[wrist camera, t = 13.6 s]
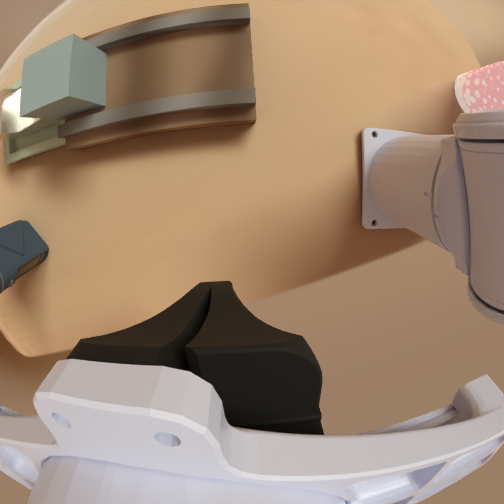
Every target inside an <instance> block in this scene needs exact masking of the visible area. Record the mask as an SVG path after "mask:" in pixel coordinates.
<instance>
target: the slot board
mask: <svg viewBox="0 0 504 504" xmlns="http://www.w3.org/2000/svg"><path fill="white" fill-rule="evenodd" d="M82 39H83V40H85V41H86V42H88V43H90V44H91V45H93V46H95V47H96V48H98V49H99V50H101V51H103V52H104V53H106V54H107V64H106V106H104V107H101V108H97V109H94V110H90V111H87V112H84V113H81V114H78V115H75V116H72V117H69V118H66V119H65V123H63V124H60V125H58V138H65V143H66V150H81V149H85V148H88V147H92V146H97V145H101V144H105V143H109V142H114V141H119V140H123V139H128V138H134V137H139V136H144V135H150V134H156V133H162V132H169V131H176V130H183V129H191V128H200V127H210V126H221V125H233V124H249V123H255V122H256V107H255V105H256V97H255V88H254V76H253V61H252V46H251V32H250V10H249V5H248V3H245V4H228V5H217V6H208V7H200V8H193V9H187V10H181V11H175V12H170V13H165V14H160V15H156V16H151V17H147V18H143V19H139V20H136V21H132V22H129V23H125V24H122V25H119V26H115V27H112V28H109V29H106V30H103V31H101V32H98V33H95V34H92V35H90V36H87V37H85V38H82Z"/></svg>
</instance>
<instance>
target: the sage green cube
mask: <svg viewBox="0 0 504 504" xmlns="http://www.w3.org/2000/svg"><path fill="white" fill-rule="evenodd" d="M106 64H107V54H106V53H104V52H103V51H101V50H99V49H98V48H96V47H95V46H93V45H91V44H90V43H88V42H86V41H85V40H83V39H82V38H80V37H78V36H76V35H75V34H72V35H70V36H68V37H65V38H63V39H61V40H59V41H57V42H55V43H53V44H51V45H49V46H47V47H45V48H43V49H41V50H39V51H37V52H36V53H34V54H32V55H30V56H29V57H27V58H25V59H24V64H23V72H22V82H21V94H20V117H24V118H39V119H50V120H63V119H66V118H69V117H72V116H75V115H78V114H81V113H84V112H87V111H90V110H94V109H97V108H101V107H104V106H106Z"/></svg>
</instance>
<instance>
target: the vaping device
mask: <svg viewBox="0 0 504 504" xmlns="http://www.w3.org/2000/svg"><path fill="white" fill-rule="evenodd" d="M48 250H49V248H48V246H47V244H46V243H45V242H44V241H43V240H42V238H41V237H40V236H39V235H38V234H37V232H36V231H35V230H34V229H33V227H32V226H31V225H30V224H29V222H27V221H22V220H19V221H16V222H13V223H11V224H8V225H6V226H4V227H1V228H0V293H2V292H3V291H4V290H5V289H7V288H8V287H11V286H12V285H13V284H14V283H15V281H16V279H18V278H19V277H21V276H22V275H24V274H25V273H27V272H28V271H30V270H31V269H33V268H34V267H36V266H37V265H39V264H40V263H42V261H44V260H45V259H46V257H47V254H48Z"/></svg>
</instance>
